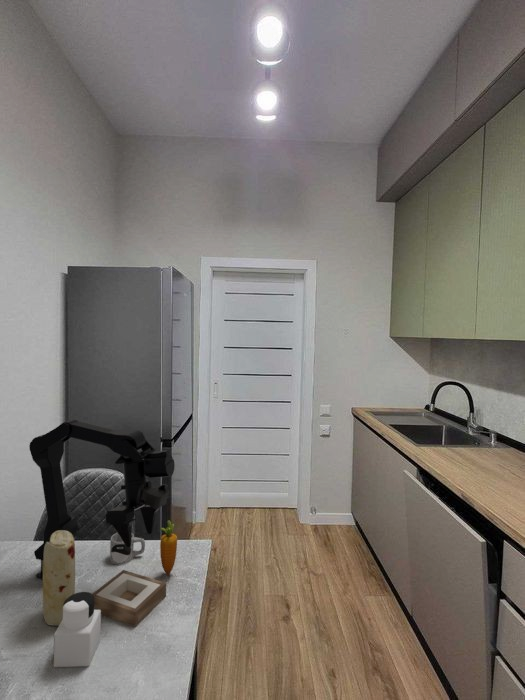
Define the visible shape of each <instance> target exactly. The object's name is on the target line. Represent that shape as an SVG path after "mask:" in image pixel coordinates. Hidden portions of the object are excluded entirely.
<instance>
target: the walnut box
mask: <svg viewBox="0 0 525 700" xmlns="http://www.w3.org/2000/svg"><path fill="white" fill-rule="evenodd" d="M123 573H125V574H128V575H131V576H135V577H138V578H141V579H144V580H147V581H151V582H154V583H157V584H160V586H159V587H157V588H156V589H155V590H154V591H153V592H152V593H151V594H150V595H149V596H148V597H147V598H146V599H145V600H144V601H143V602H142V603H140V604H139V605H138V606H137V607H136V608H132V607H129V606H126V605H124V604H121V603H118V602H115V601H112V600H109V599H106V598H104V597H101V596H98V595H96V594H98V593H99V592H100V591H101V590H103V589H104V588H105V587H107V586H108V585H109V584H110V583H112V582H113V581H114V580H116V579H117V578H118V577H119V576H121V575H122V574H123ZM91 594H92V595H93V596H94V610H101V616H103V617H106V618H110V619H113V620H115V621H117V622H120V623H123V624H126V625H128V626H131V627H134V628H137V626H138V625H139V624H140V623H141V622H142V621H143V620H144V619H145V618H146V617H147V616H149V614H150V613H151V612H152V611H153V610H154V609H155V608H156V607H157V606H158V605H159V604H160V603H161V602H162V601H163V600H164V599H165V598H166V597H167V582H165V581H164V582H163V581H161V580H158V579H154V578H152V577H148V576H145V575H141V574H138V573H135V572H132V571H129V570H125V569H123V570H121V571H120V572H118V573H117V574H116V575H115V576H114V577H112V578H111V579H110V580H108V581H107V582H105V583H104V584H103V585H102V586H101V587H99V588H98V589H97V590H95V591H94V592H93V593H91ZM137 595H138V594H137V593H134V592H131V591H128V590H127V591H126V592H125V593H123V594H122V595H121V596H120V598H122V599H125V600H128V601H132V600H133V599H134V598H135V597H136V596H137Z"/></svg>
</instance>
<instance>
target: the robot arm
mask: <svg viewBox="0 0 525 700" xmlns="http://www.w3.org/2000/svg"><path fill="white" fill-rule="evenodd" d="M71 438H72V439H77V440H80V441H85V442H88V443H92V444H96V445H100V446H104V447H106V448H108V449H110V450H111V452H113V453H115V454H118V455H119V457H118V458H117V459H116V460H115V462H114V464H115V465H122V467H123V482H124V484H122V485H120V489H121V490H122V491H123V490H124V496H125V500H123V501H121V505H122V506H115V507H113V508H111V509H109V510H107V511H106V512H105V514H104V517H105V524H108V525H110V526H112V527H113V528H114V529H115V531H116V533H118V534H119V535H120V537H121V539H122V540H123V542H124V543H125V545H126V547H131V533H132V525H133V524H134V523H135V521H136V518H135V513H136V512H137V511H138V510H140V513H141V516H142V519H143V524H144V526H145V527H144V528H145V530H146V533H147V534H148V535H151V534H152V533H153V529H154V525H155V520H156V516H157V513H158V511H159V510H160V509H161V507H163V506H166V504H167V499H168V498H170V496H171V494H170V487H169V485H168V484H166V483H163V484H161V485H160V486H159V487H158V486H155V487H153V485H152V482H151V480H148V479H147V477H148V478H149V479H155V478H156V479H157V478H167V477H169V478H170V477H172V476H173V475H174V471H175V460H174V458H173V456H172V454H170V450H169V449H164V450H160V451H159V450H158V451H156V449H155V447H153V446H152V445H151V443H150V442H148V441H147V439H146V437H145V435H144V433H143V432H142V431H140V430H137V429H119V430H116V429H110V428H106V427H102V426H98V425H94V424H90V423H85V422H82V421H79V420H77V419H70V420H67V421H64V422H62V423H61V424H60V425H58V426H57V427H55V428H54V429H52V430H50V431H48V432H46V433H45V434H42V435H38V436H35V437H34V438H32V440H31V441H30V442H29V446H28V447H29V451H30V455H31V458H32V461H33V462H34V464H36V466H37V467H38V468H39V470H40V475H41V483H42V490H43V495H44V496H43V497H44V504H45V510H46V516H47V521H46V524H45V527H44V529H43V543H42V544H41V545H40V546H38V548H36V549H35V550H34V552H33V553H34V556H35V559H36V560H40V571H39V572H37V573H36V574H35V578H37V579H41V580H43V560H44V546H45V544H46V542H50V537H51V535H52V534H53V533H54V532H55V531H58V530H65V531H69V532H70V533H71V534H72V536H73V538H74V541H75V539H76V538H77V537H78V532H79V531H80V528H79V526H78V519H77V518H78V517H76V516H74V517H72V516H71V515H70V514H69V513H68V508H67V501H66V493H65V488H64V481H63V474H62V468H61V462H62V458H63V455H64V453H65V443H66V442H68V441H69V440H70V439H71Z"/></svg>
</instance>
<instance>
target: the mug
mask: <svg viewBox="0 0 525 700" xmlns="http://www.w3.org/2000/svg"><path fill="white" fill-rule="evenodd" d="M134 535H135V534H134V533H132V532H131V547H126V545H125V543H124V542H123V540H122V539H121V537H120V535H119V534H118V532H116V533H114V534H112V535H111V536H110V542H109V543H110V546H109V547H110V548H109V551H110V552H109V562H110V563H111V564H113V565H117V566H118V565H119V566H121V565H125V564H128V563H130V562H132V560H133V559H134V557H136V556H139V555H141V554H143V553H144V552H145V547H146V541H145V539H144V538H142V537H136V536H134ZM134 543H140V544H141V549H140V550H134Z"/></svg>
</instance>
